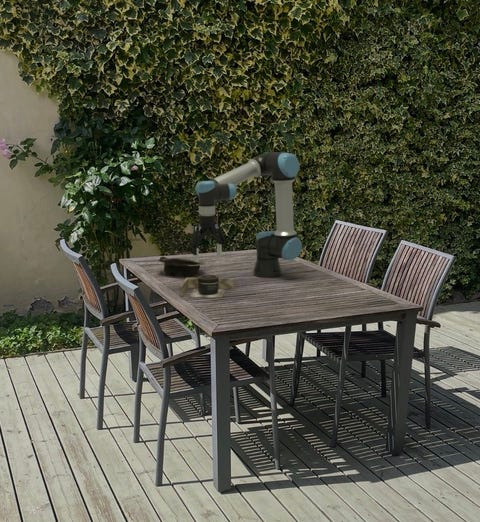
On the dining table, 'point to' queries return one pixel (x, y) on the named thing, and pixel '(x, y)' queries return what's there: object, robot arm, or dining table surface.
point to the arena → (193, 283)
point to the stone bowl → (180, 266)
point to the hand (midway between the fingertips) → (208, 259)
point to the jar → (208, 284)
